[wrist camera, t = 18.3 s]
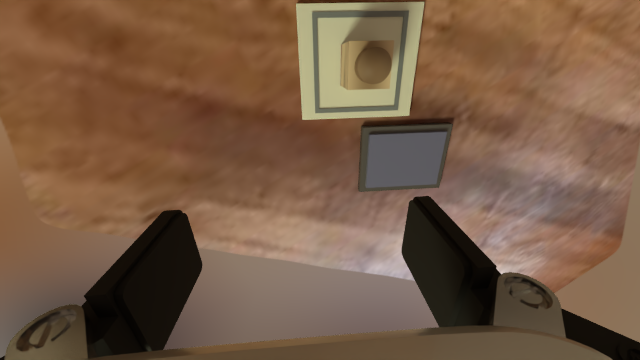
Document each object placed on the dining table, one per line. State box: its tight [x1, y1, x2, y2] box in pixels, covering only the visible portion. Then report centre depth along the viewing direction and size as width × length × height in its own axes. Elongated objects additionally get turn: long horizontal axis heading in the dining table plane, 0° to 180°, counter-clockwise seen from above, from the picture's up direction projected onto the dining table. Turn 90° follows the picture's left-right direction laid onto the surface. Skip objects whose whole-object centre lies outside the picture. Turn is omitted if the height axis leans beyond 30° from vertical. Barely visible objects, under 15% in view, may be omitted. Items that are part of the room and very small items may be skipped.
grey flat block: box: [358, 123, 453, 192], centre depth 39 cm, size 14×11×2 cm
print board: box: [296, 2, 424, 120], centre depth 33 cm, size 16×14×1 cm
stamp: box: [340, 40, 394, 90], centre depth 29 cm, size 5×5×8 cm
